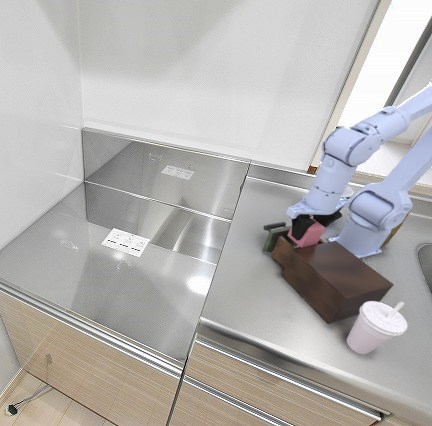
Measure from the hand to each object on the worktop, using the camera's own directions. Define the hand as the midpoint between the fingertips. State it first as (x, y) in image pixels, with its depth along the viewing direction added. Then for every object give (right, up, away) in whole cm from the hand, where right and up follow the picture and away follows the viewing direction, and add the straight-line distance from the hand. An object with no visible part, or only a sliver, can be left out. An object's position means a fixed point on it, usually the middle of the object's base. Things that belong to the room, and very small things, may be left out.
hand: (304, 235), depth 69 cm
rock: (+28, -1, +13) cm, 31 cm away
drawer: (0, -6, +5) cm, 8 cm away
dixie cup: (+17, +3, +19) cm, 26 cm away
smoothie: (+2, -21, -13) cm, 24 cm away
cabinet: (+3, -13, -3) cm, 13 cm away
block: (0, -1, +1) cm, 1 cm away
